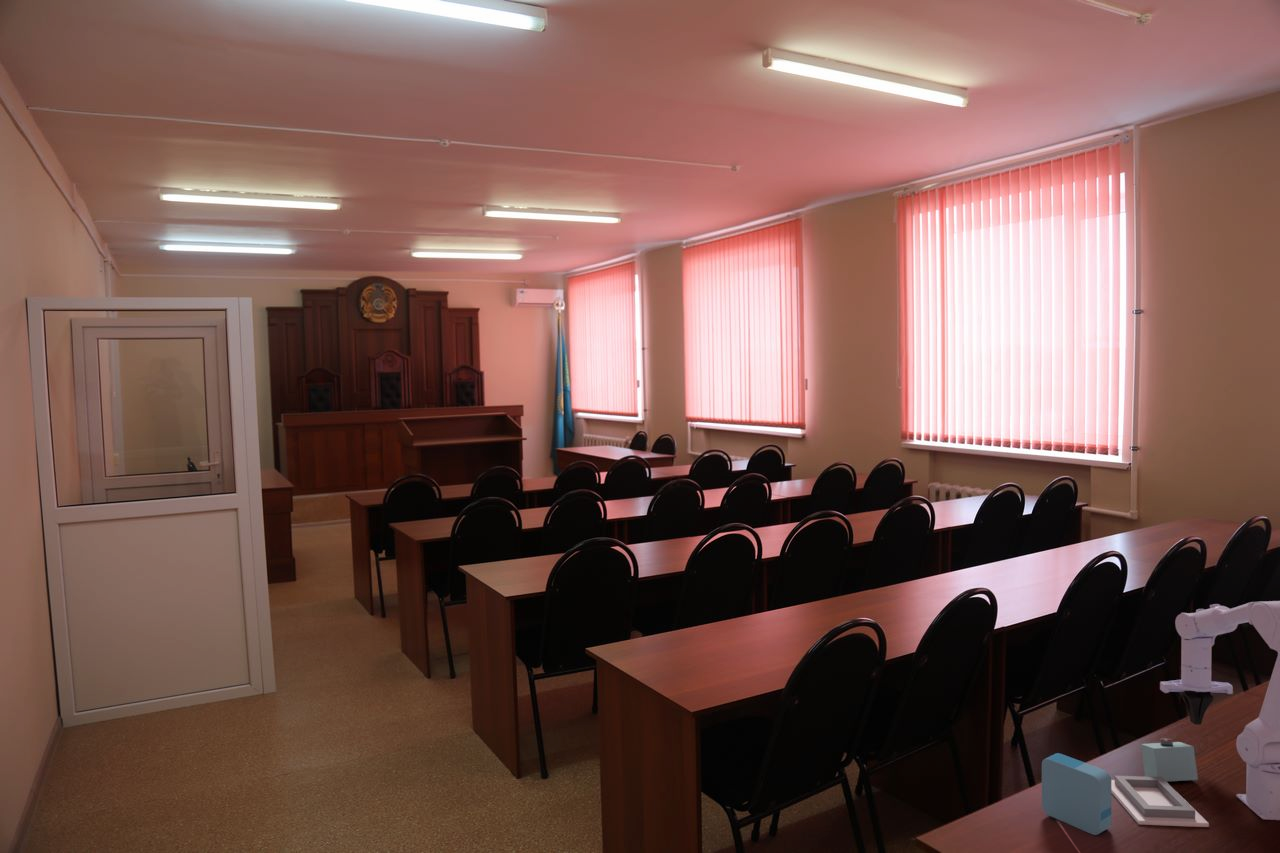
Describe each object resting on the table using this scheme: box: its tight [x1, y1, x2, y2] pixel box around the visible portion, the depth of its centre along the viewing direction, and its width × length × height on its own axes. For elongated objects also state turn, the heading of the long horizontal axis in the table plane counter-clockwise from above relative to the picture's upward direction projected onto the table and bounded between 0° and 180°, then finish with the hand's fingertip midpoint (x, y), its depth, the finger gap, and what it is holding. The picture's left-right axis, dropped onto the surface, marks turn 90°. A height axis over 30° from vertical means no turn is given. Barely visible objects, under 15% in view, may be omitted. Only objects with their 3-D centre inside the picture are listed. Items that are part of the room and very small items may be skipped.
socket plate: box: [1111, 775, 1210, 828], centre depth 174 cm, size 17×13×2 cm
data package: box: [1041, 752, 1112, 836], centre depth 168 cm, size 12×4×12 cm, turn 33°
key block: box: [1140, 737, 1199, 783], centre depth 184 cm, size 4×9×8 cm, turn 93°
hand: (1195, 722), depth 191 cm, fingers closed
